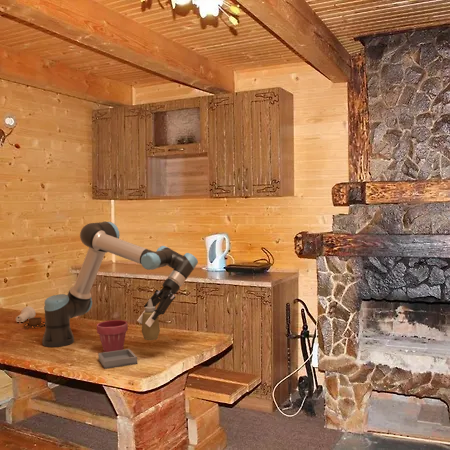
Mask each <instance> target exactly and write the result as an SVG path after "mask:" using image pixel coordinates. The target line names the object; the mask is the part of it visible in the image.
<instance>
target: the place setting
mask: <svg viewBox="0 0 450 450" xmlns="http://www.w3.org/2000/svg"><path fill="white" fill-rule="evenodd" d="M41 322H43V323H45V321H42V317H40V316H38V317H36V316H35V317H34V318H30V319H29V320H28V323H25V324H24V325H23V328H25V327H28V328H27V329H29V328H32V326H33V327H40V326H44V325H45V324H41ZM26 324H29V325H28V326H25V325H26ZM37 325H39V326H37ZM44 327H45V326H44ZM40 328H41V327H40ZM32 329H33V328H32Z"/></svg>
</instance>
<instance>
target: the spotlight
mask: <svg viewBox="0 0 450 450" xmlns="http://www.w3.org/2000/svg"><path fill="white" fill-rule="evenodd" d="M36 315H37V313H36V310H35V308H34V307H32V306H30V305H29V306H28V305H27V306H25V307H23V308H22V309H21V312H20V314H19V315H17V316H16V317H15V321H16V323H17V322H23V323H24V322H26V321H28V320H27V319H30V318H35V317H36Z"/></svg>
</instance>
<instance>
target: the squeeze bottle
mask: <svg viewBox="0 0 450 450" xmlns="http://www.w3.org/2000/svg"><path fill="white" fill-rule="evenodd" d="M147 302H148V305H147V307H144V310H145V312H144V311H143V312H144V313H143V312H142V313H143V319H142V324H141V333H142V336H143V339H144V340H146V341H154V340H156V341H157V339H158V338H159V335H160V331H161V330H160V329H161V327H160V320H159V316H158V317H157V319H156V320H155V321H154V322H153V324H152V325H151V326H150V327H149V326H147V325H146V324H145V323H146V321H147V320H148V319H149V317H150V316H151V315H152V313H153V312H154V311H155V310H156V306H153V304H152V300H151V299H150V298H148V300H147Z"/></svg>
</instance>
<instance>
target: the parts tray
mask: <svg viewBox="0 0 450 450" xmlns="http://www.w3.org/2000/svg"><path fill="white" fill-rule="evenodd" d="M97 355H98V362H99V363H100V364H101V366H102V368H103V369H105V370H107V369H112V368H119V367H125V366H132V365H138V356H137V355H136V354H135V353H134V352H133V351H132V350H131V349H130V348H125V349H124V348H123V350H117V351H110V352H104V351H103V352H98V354H97Z"/></svg>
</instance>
